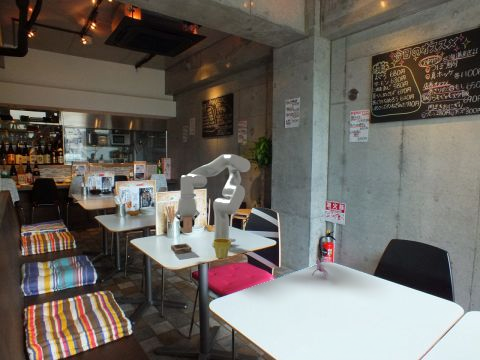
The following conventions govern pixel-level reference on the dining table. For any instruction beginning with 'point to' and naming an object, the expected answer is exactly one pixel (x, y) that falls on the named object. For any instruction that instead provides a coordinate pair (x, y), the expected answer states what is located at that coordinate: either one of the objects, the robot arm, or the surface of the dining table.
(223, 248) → the plant pot
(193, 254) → the mat
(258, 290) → the dining table surface
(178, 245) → the holder
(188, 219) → the brown wooden block
